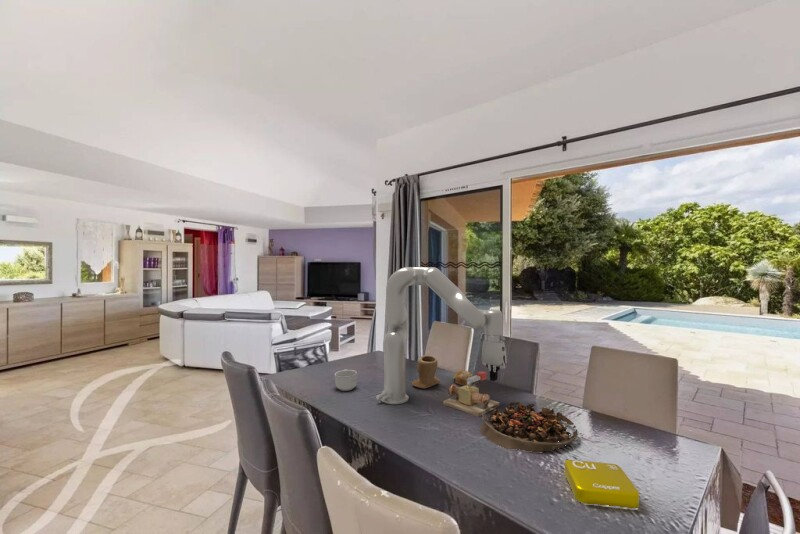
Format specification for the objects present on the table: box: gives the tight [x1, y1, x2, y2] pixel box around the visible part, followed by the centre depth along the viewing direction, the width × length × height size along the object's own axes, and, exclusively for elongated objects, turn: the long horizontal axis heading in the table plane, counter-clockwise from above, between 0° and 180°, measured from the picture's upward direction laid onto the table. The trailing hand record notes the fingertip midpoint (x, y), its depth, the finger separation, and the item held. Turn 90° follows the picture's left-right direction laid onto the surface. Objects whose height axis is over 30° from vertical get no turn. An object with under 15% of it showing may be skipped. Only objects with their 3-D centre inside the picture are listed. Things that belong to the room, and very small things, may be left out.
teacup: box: [334, 368, 358, 392], centre depth 183 cm, size 14×11×8 cm
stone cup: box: [411, 354, 441, 389], centre depth 186 cm, size 15×12×15 cm
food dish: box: [479, 401, 579, 453], centre depth 136 cm, size 35×33×8 cm
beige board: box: [442, 397, 500, 417], centre depth 161 cm, size 16×18×2 cm
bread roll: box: [452, 370, 475, 386], centre depth 191 cm, size 10×10×8 cm
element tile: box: [564, 459, 640, 508], centre depth 101 cm, size 15×15×5 cm
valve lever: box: [467, 370, 487, 386], centre depth 163 cm, size 13×3×4 cm, turn 135°
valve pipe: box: [448, 383, 491, 409], centre depth 159 cm, size 6×18×7 cm, turn 45°
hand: (493, 380), depth 162 cm, fingers closed
